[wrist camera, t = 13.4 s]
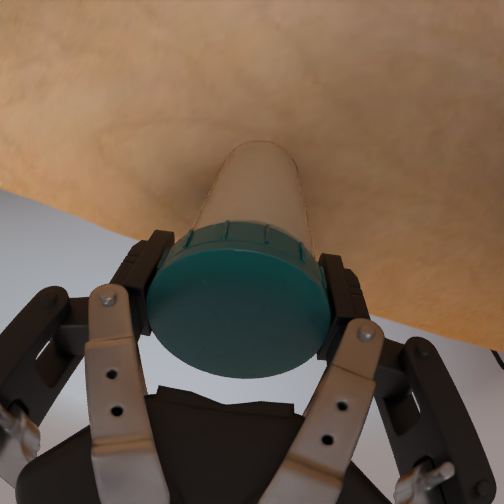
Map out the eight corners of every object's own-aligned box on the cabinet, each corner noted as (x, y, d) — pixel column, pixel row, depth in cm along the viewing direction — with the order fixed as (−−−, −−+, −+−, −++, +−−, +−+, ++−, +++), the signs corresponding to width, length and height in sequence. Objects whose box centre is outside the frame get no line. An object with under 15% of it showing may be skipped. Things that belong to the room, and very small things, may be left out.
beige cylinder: (312, 189, 21) (346, 322, 11) (249, 225, 23) (229, 366, 12) (270, 125, 18) (266, 207, 8) (205, 168, 20) (139, 284, 10)
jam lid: (194, 186, 9) (181, 209, 7) (361, 271, 10) (371, 301, 9) (140, 313, 12) (128, 341, 10) (270, 365, 13) (270, 394, 12)
